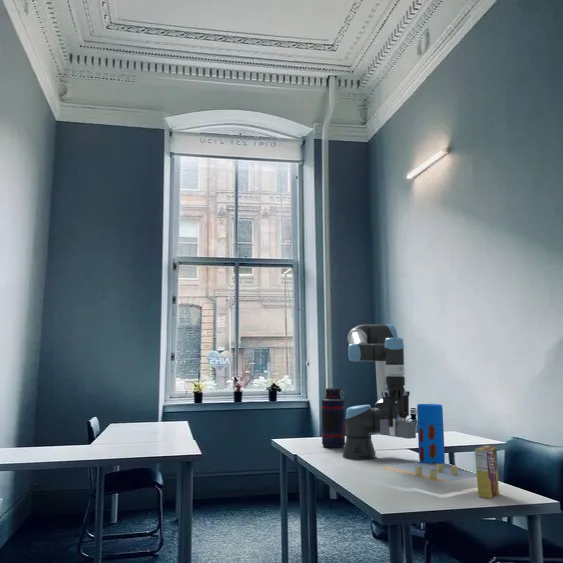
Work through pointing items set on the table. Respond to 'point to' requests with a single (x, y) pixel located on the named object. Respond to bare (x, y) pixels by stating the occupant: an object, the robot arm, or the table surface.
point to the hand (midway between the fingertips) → (397, 434)
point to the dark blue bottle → (333, 419)
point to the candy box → (486, 471)
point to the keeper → (434, 473)
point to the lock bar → (399, 429)
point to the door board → (428, 471)
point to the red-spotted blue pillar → (430, 433)
